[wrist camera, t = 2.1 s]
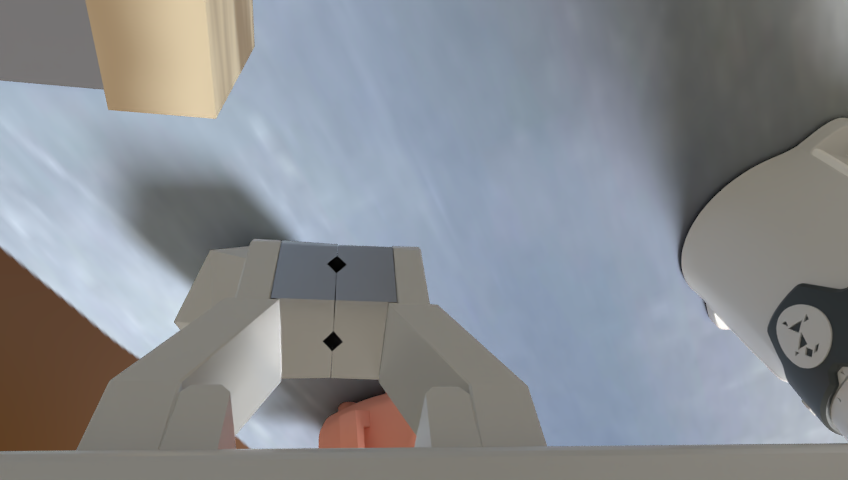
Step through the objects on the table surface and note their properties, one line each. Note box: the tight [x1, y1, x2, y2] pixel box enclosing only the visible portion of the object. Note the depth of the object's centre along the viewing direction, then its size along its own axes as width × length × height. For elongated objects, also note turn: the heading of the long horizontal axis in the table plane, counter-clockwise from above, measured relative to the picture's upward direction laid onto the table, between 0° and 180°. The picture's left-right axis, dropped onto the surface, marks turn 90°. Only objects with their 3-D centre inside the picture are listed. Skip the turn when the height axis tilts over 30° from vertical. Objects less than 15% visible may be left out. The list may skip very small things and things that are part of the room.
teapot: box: [319, 392, 416, 448], centre depth 46 cm, size 12×12×10 cm
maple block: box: [85, 0, 254, 119], centre depth 24 cm, size 4×6×10 cm, turn 172°
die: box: [174, 246, 249, 330], centre depth 35 cm, size 8×9×10 cm
